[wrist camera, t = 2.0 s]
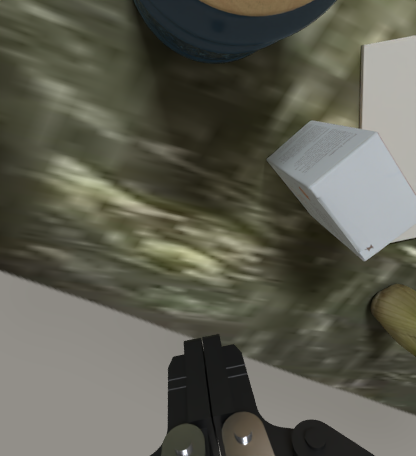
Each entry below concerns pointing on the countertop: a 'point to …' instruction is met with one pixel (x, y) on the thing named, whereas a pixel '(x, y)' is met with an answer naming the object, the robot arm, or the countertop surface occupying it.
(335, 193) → the small box
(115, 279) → the countertop surface
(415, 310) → the fennel bulb
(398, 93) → the mat
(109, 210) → the countertop surface
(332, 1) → the canister
